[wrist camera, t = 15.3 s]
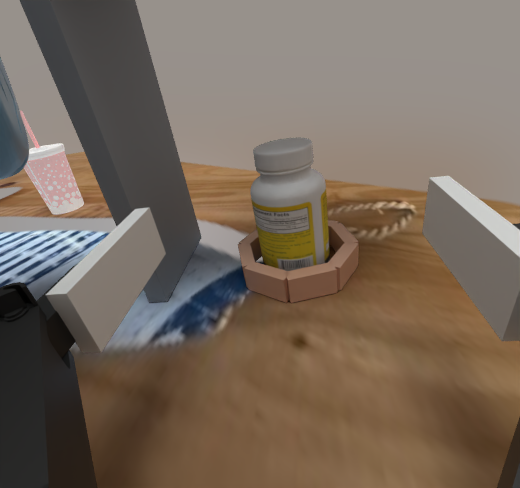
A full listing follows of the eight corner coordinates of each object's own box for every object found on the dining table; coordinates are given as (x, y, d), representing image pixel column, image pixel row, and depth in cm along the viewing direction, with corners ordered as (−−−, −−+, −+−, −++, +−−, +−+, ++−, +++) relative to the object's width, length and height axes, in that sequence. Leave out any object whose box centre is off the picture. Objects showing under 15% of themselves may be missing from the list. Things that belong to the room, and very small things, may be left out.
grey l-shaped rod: (432, 288, 21) (524, -266, 10) (149, 302, 24) (-23, -99, 13) (392, 221, 29) (417, -115, 18) (187, 238, 33) (103, -37, 21)
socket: (221, 280, 25) (216, 259, 24) (280, 230, 31) (278, 212, 30) (322, 315, 20) (321, 291, 19) (370, 247, 26) (371, 226, 25)
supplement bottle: (297, 241, 29) (286, 132, 24) (344, 262, 25) (342, 137, 20) (251, 266, 26) (228, 151, 21) (294, 295, 22) (278, 161, 17)
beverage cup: (97, 199, 49) (55, 104, 42) (69, 216, 44) (16, 111, 37) (67, 200, 51) (22, 109, 44) (36, 217, 46) (-20, 117, 39)
